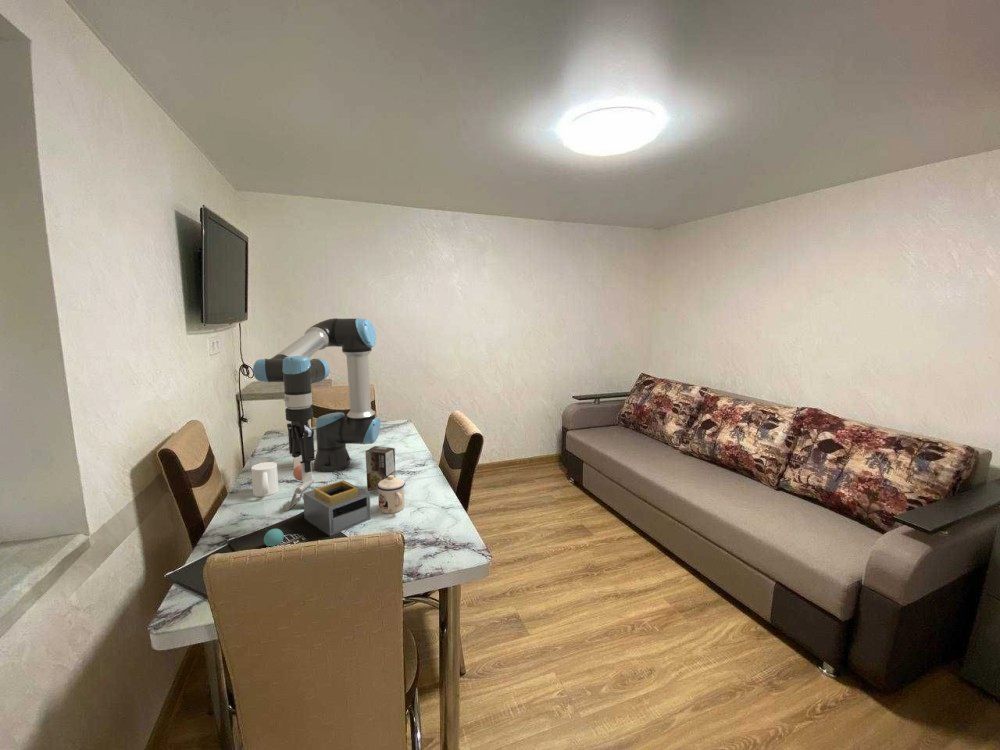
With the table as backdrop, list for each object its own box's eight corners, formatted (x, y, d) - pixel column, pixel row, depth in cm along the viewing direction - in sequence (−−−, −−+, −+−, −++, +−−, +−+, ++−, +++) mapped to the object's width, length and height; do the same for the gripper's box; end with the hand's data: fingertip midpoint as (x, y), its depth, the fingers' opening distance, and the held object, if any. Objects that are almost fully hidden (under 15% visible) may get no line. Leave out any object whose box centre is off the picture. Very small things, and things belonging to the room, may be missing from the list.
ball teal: (261, 546, 118) (260, 530, 117) (279, 539, 122) (278, 523, 121) (268, 553, 115) (267, 536, 114) (287, 545, 118) (286, 529, 118)
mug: (276, 460, 158) (277, 470, 148) (278, 486, 160) (279, 497, 149) (251, 464, 154) (250, 474, 144) (253, 490, 156) (252, 502, 145)
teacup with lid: (373, 507, 143) (372, 474, 142) (398, 500, 149) (397, 469, 147) (388, 520, 134) (387, 486, 132) (413, 512, 140) (413, 479, 138)
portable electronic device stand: (296, 500, 148) (295, 477, 147) (317, 500, 148) (316, 478, 147) (283, 511, 140) (281, 487, 138) (306, 511, 139) (304, 488, 138)
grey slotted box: (304, 519, 134) (302, 488, 132) (344, 504, 144) (343, 476, 143) (330, 536, 124) (328, 503, 122) (370, 519, 134) (369, 488, 133)
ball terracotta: (290, 480, 129) (290, 464, 129) (307, 475, 133) (306, 461, 132) (297, 484, 126) (296, 468, 125) (314, 480, 130) (313, 464, 129)
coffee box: (396, 488, 159) (395, 448, 157) (386, 495, 153) (385, 453, 151) (376, 485, 162) (375, 445, 160) (366, 491, 156) (364, 450, 154)
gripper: (274, 404, 129) (278, 475, 133) (299, 413, 118) (303, 490, 121) (298, 400, 135) (302, 468, 138) (324, 409, 123) (328, 483, 127)
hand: (303, 479), depth 130 cm, fingers closed on ball terracotta, 5 cm apart
